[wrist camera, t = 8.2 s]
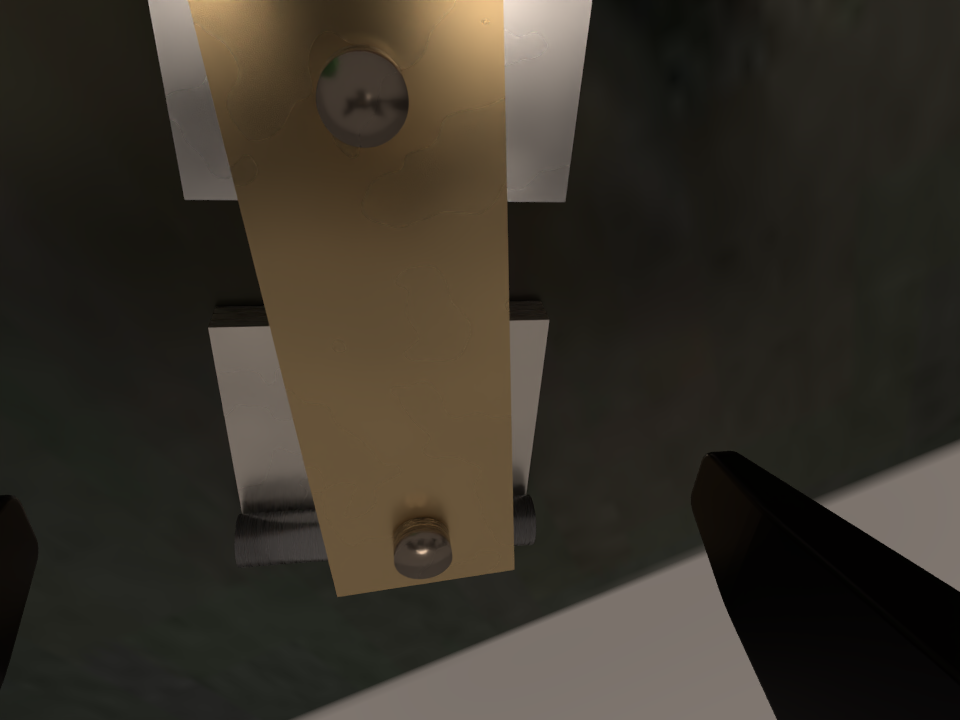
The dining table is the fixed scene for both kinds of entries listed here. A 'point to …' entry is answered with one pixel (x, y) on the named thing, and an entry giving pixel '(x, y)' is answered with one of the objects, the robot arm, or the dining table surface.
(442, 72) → the bar
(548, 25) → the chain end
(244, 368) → the chain end
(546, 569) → the dining table surface
